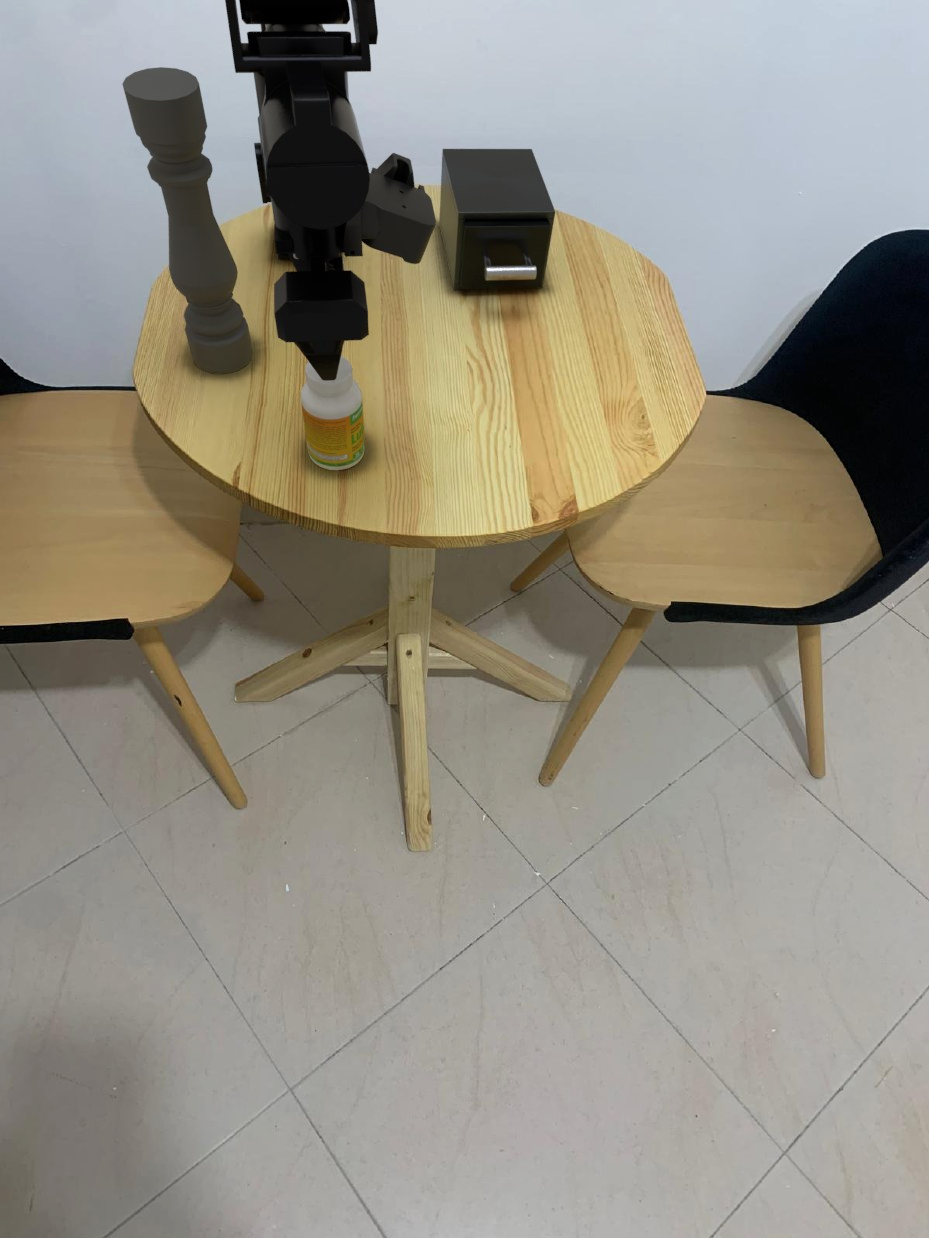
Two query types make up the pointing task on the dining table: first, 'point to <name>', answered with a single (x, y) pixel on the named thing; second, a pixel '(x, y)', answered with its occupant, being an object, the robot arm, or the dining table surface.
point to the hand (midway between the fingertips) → (326, 345)
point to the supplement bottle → (333, 418)
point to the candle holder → (190, 214)
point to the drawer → (503, 253)
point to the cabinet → (489, 195)
